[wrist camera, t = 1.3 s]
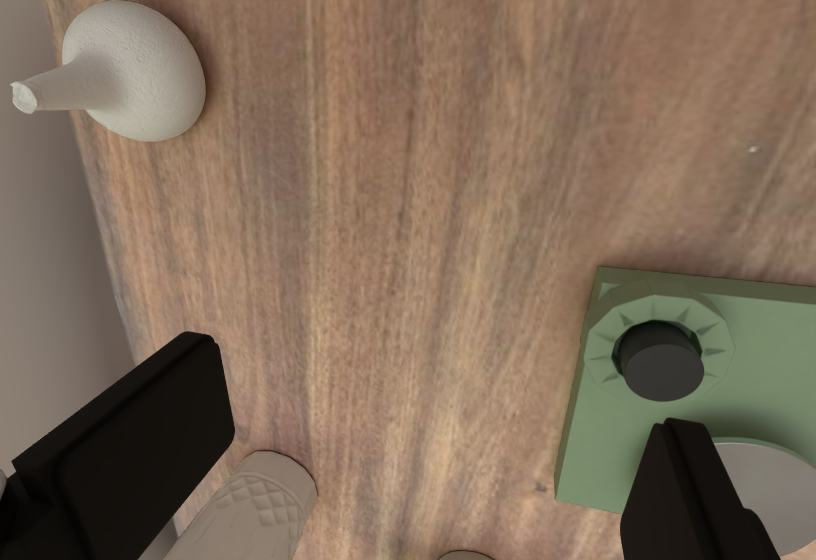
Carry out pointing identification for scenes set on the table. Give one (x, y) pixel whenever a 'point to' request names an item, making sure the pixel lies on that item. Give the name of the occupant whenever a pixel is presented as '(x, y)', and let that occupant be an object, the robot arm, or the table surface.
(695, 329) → the scale
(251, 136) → the table surface
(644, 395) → the tare button
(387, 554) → the table surface
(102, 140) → the table surface
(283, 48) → the table surface
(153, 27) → the garlic bulb
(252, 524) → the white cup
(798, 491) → the pan
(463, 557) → the mug
